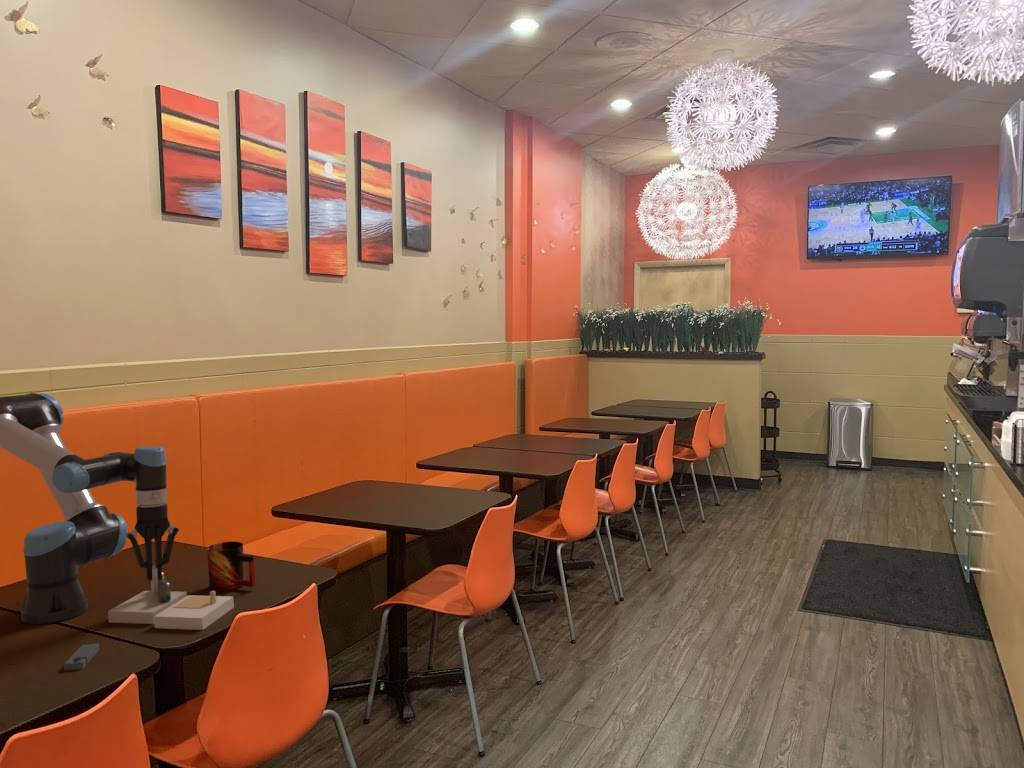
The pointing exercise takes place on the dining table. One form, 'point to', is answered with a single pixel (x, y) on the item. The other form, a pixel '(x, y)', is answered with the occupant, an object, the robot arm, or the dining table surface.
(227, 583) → the mug
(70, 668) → the bracket
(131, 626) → the dining table surface
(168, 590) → the bar
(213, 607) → the door slab
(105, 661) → the dining table surface
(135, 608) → the block
